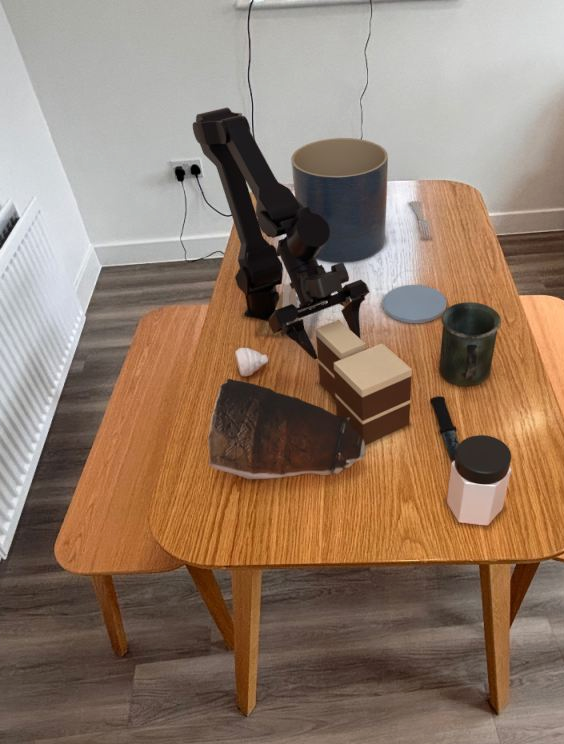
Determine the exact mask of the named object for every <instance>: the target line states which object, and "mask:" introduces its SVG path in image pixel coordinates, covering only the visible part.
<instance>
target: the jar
mask: <svg viewBox="0 0 564 744" xmlns="http://www.w3.org/2000/svg"><path fill="white" fill-rule="evenodd" d="M511 461H512V451H511V450H510V448H509V447H508V445H507V444H506V443H505V442H504V441H502V440H501V439H499V438H497V437H494V436H491V435H485V434H477V435H472V436H469V437H466V438H465V439H463V440H461V441H460V442H459V445H458V447H457V450H456V454H455V460H454V461H453V462H452V461H451V463H450V474H449V481H448V488H447V497H446V504H447V506H448V507H449V509H450V510H451V512H452V514H453V515H454V517H455V519H456V520H457V522H458V523H461V524H469V525H479V526H489V525H490V524H491V523H492V521H494V519H495V518H496V517H497V516H498V515H499V514H500V512H501V511H502V510H503V508H504V504H505V500H506V495H507V491H508V487H509V483H510V478H511V474H512V468H511Z"/></svg>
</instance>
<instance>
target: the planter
mask: <svg viewBox="0 0 564 744" xmlns="http://www.w3.org/2000/svg"><path fill="white" fill-rule="evenodd" d="M290 163H291V171H292V180H293V190H294V196H295V198H296V199H297V201H298V202H300V203H301V204H302V205H303V206H304V207H307V206H308V207H309V208H310V211H311V213H315V214H318V215H320V216H321V217H322V218H323V219H324V220H325V221H326V222H327V223H328V225H329V229H330V235H329V239H328V241H327V242H326V243H325V245H324V246H323V247H322V248H321V250H320V251H319V252H318V254H317V255H316V256H315V257H316V260H320V261H324V262H330V263H351V262H357V261H361V260H364V259H365V260H366V259H368V258H370V257H372V256H374V255H375V254H377V253H378V252H379V251H380V250H381V249H383V247H384V245H385V242H386V221H387V200H388V171H389V170H388V166H389V154H388V152H387V150H386V149H385V148H384V147H383V146H381V145H380V144H378V143H375V142H373V141H371V140H366V139H360V138H352V137H336V138H326V139H320V140H316V141H312V142H309V143H307V144H305V145H303V146H302V145H301V147H299V148H297V149H296V150H295V151H294V152H293V154H292V155H291V158H290Z"/></svg>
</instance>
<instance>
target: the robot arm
mask: <svg viewBox="0 0 564 744" xmlns="http://www.w3.org/2000/svg"><path fill="white" fill-rule="evenodd" d="M192 132H193V135H194V139H195V140H196V142H197V143H198V144H199V145H200V149H201V151H202V153H203V155H204V156H205V157H206V158H207V159H208V160H209V161H210V162H211V163H212V164H213V165H214V166H215V167H216V170H217V173H218V177H219V179H220V183H221V186H222V189H223V191H224V192H223V193H224V194H225V199H226V202H227V204H228V208H229V212H230V215H231V217H232V220H233V223H234V227H235V230H236V233H237V236H238V239H239V243H240V247H239V251H238V255H237V262H238V266H239V269H238V271H237V273H236V274H235V276H234V279H235V282H236V285H237V288H238V289H239V290H240V291H241V292H242V294H244V296H245V303H246V310H245V312H244V313H243V315H244V317H248V318H252V319H259V320H263V321H268V325H269V327H270V330H271V332H272V334H276V333H279V332H280V335H281V336H285V335H286V336H287V337H288V338H289V339H291V340H292V341H294V342H295V343H296V344H297V345H298V346H299V347H300V348H301V349H303V351H305V352H306V353H307V355H309V356H310V357H311V358H312V359H313V360H314V361H316V360H318V353H317V350H316V349H315V347H314V345H313V343H312V340H311V339H310V337H309V335H308V333H307V331H306V328H305V323H304V319H303V318H305V317H307V316H310V315H313V314H315V313H318V312H321V311H324V310H327V309H329V308H332V307H335V306H338V305H340V306H342V307H343V308H342V309H341V311H340V312H341V314H342V316H343V318H344V320H345V322H346V324H347V327H348V328H349V329H350V330H351V331H352V332H353V333H354V334H355V335H356V336H358V337H359V338H360V339H361V327H360V308H361V304H362V303H363V302H364V301H365V300H366V297H367V295H368V294H369V293H371V292H370V289H369V287H368V284H367V283H366V282H365V281H363V280H362V279H358V280H355V281H353V282H350V283H348V282H349V281H350V276H349V272H348V270H347V269H348V268H346V265H345V262H337V263H336V264H332V265H330V271H326V269H325V267H324V266H323V265H322V264H319V262H318V259H317V258H316V257H315V256H316V255H317V254H318V252H319V251H320V250H321V248H322V247H323V246H324V245H325V243H326V242H327V241H328V239H329V235H330V229H329V225H328V223H327V222H326V221H325V220H324V219H323V218H322V217H321V216H320V215H318V214H315V213H311V211H310V208H309V207H308V206H307V207H304V206H303V205H302V204H301V203H300V202H298V201H297V199H296V198H295V194H294V193H293V191H292V190H291V189H290V188H289V187H288V186H286V185H284V184H282V183H280V182H279V181H278V179H277V178H276V177H275V174H274V173H273V170H272V169H271V167H270V165H269V163H268V161H267V160H266V158H265V156H264V154H263V152H262V151H261V149H260V147H259V144H258V143H257V140H255V138H254V136H253V134H252V132H251V127H250V122H249V120H248V119H247V117H246V116H245V115H243V113H242V112H234V111H232V110H231V109H230V108H229V107H223V108H219V109H213V110H209V111H206V112H205V111H204V112H201V113H197V114H196V116H195V121H194V122H192ZM250 191H251V192H252V194H253V196H254V199H255V201H256V203H255V206H254V203H253V200H252V196H251V193H250ZM263 233H264V234H265V235H266V236H267V237H268V238H272V239H274V238H277V237H281V236H283V235H286V236H284V238H282V239H279V240H278V241H277V247H275V245H274V244H270V243H269V242H268V241H267V240H266V239H265V238H264V236H263ZM279 257H280V258H281V259H280V258H279ZM283 265H284V266H283ZM284 267H285V270H286V272H287V275H288V278H289V280H290V282H289V284H290V286H291V288H292V289H295V291H296V297H297V298H298V301H299V304H298V306H297V308H296V307H295V306H294V305H293V304H291V305H288V306H285V307H282V308H280V309H277V310H276V309H275V308H276V306H277V303H278V301H279V298H280V294H279V291H277V286H280V285H282V284H283V275H284ZM344 283H347V284H345V285H343V284H344Z"/></svg>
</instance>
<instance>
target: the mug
mask: <svg viewBox="0 0 564 744" xmlns="http://www.w3.org/2000/svg"><path fill="white" fill-rule="evenodd" d="M440 317H441V319H440V320H441V324H442V332H441V344H440V355H439V363H438V369H439V373H440V375H441V376H442V378H443V379H444V380H445V381H446V382H447V383H449V384H451V385H454V386H457V387H463V388H464V387H465V388H466V387H468V388H469V387H476V386H478V385H480V384H482V383H484V382H485V381H486V380H487V379H488V378H489V377H490V375H491V371H492V365H493V359H494V353H495V346H496V341H497V334H498V330H499V329H500V328H501V325H502V318H501V315H500V313H498V312H497V310H495V309H494V308H493V307H491V306H489V305H487V304H483V303H480V302H475V301H473V302H471V301H465V302H460V303H455V304H452V305H450V306H449V307H446V310H445V311H444V312H443V314H442V315H441V316H440Z"/></svg>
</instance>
